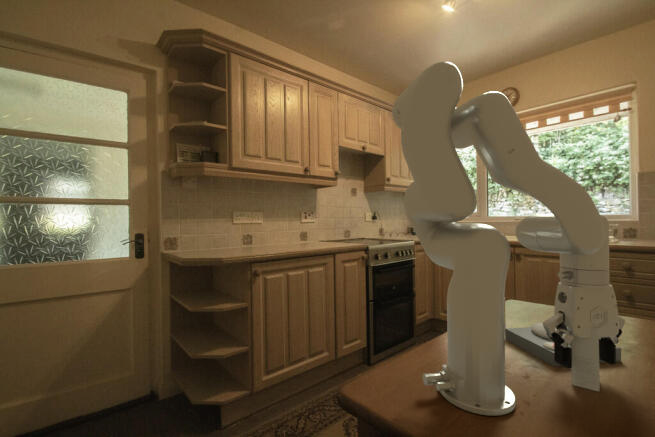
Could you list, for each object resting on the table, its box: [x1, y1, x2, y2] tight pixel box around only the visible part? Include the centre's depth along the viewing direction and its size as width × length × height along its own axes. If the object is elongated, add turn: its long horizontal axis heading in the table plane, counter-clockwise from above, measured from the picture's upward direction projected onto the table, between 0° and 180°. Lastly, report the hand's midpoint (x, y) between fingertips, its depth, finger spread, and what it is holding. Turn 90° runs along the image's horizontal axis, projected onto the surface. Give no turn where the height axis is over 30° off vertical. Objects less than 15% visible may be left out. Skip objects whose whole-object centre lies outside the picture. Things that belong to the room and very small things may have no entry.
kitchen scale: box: [505, 322, 622, 368], centre depth 75 cm, size 17×15×4 cm
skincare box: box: [570, 327, 601, 392], centre depth 60 cm, size 6×4×12 cm
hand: (584, 363), depth 60 cm, fingers open, 9 cm apart
